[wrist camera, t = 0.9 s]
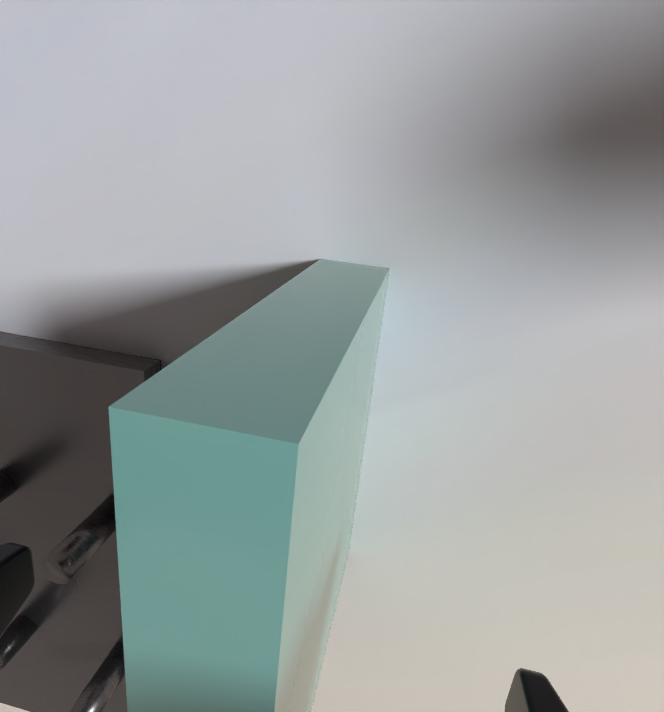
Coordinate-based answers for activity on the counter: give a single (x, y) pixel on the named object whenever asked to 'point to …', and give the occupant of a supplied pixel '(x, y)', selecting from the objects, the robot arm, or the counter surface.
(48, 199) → the counter surface
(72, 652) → the dish rack
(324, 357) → the teal plate
